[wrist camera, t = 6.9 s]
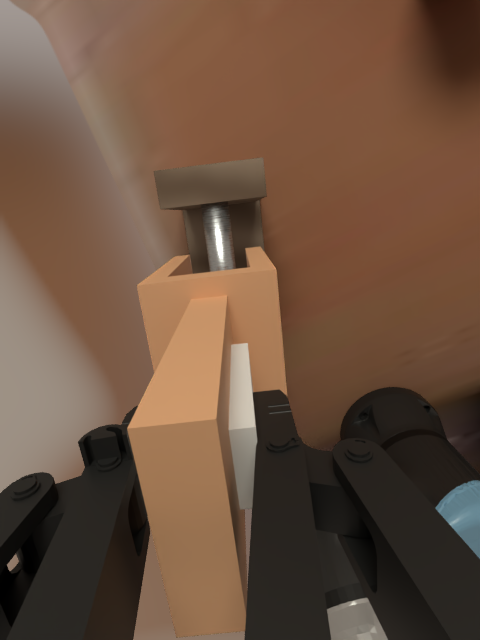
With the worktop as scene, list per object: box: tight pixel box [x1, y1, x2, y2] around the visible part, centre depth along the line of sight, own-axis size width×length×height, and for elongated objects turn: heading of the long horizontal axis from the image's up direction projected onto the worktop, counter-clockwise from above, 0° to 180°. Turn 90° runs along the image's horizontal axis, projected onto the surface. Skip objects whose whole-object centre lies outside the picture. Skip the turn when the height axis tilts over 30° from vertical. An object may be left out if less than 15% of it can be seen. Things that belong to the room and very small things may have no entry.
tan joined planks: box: [127, 247, 287, 637], centre depth 19 cm, size 8×7×23 cm
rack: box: [154, 158, 267, 274], centre depth 41 cm, size 22×10×18 cm, turn 7°
